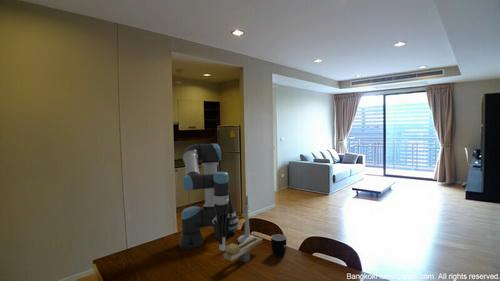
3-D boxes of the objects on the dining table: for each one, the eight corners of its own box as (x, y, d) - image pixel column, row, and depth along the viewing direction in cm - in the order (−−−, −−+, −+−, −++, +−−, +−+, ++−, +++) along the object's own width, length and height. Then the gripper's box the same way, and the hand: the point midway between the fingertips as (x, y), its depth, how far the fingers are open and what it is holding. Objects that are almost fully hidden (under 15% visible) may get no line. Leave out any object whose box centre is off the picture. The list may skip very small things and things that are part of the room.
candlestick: (256, 244, 165) (256, 197, 164) (236, 244, 165) (236, 197, 164) (256, 236, 178) (256, 192, 177) (238, 236, 178) (237, 193, 177)
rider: (225, 255, 137) (225, 246, 137) (232, 251, 141) (231, 243, 140) (233, 258, 133) (233, 249, 133) (240, 254, 137) (239, 245, 137)
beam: (223, 268, 135) (222, 253, 135) (254, 249, 158) (254, 236, 158) (231, 272, 132) (231, 257, 131) (262, 251, 154) (262, 238, 154)
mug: (285, 259, 145) (285, 241, 145) (269, 257, 147) (269, 239, 147) (288, 249, 156) (287, 233, 156) (273, 248, 159) (273, 231, 158)
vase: (243, 232, 185) (242, 191, 184) (226, 239, 173) (226, 195, 172) (228, 227, 196) (227, 188, 195) (211, 233, 184) (211, 192, 183)
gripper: (217, 207, 122) (218, 256, 123) (235, 201, 133) (236, 247, 133) (206, 205, 127) (207, 252, 127) (224, 199, 137) (225, 243, 138)
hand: (222, 249), depth 130 cm, fingers closed
